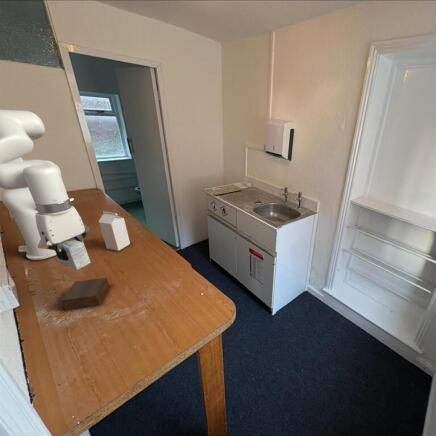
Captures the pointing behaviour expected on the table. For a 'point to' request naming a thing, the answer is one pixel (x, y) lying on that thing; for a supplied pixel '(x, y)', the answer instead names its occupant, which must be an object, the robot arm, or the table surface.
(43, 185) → the robot arm
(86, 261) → the medicine box
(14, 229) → the table surface
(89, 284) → the walnut block
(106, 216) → the milk carton
